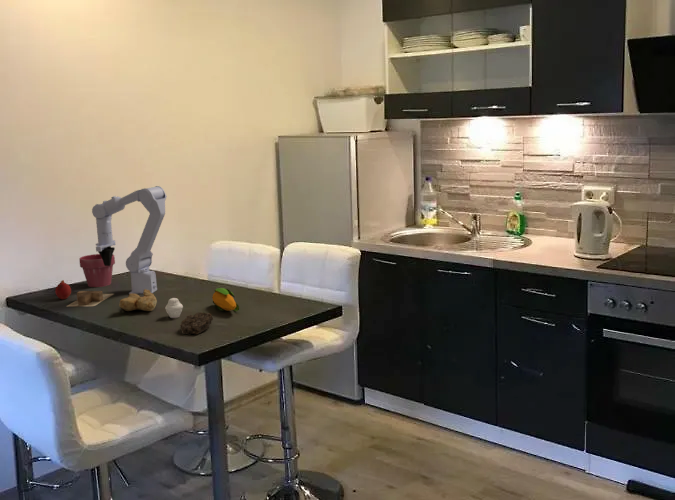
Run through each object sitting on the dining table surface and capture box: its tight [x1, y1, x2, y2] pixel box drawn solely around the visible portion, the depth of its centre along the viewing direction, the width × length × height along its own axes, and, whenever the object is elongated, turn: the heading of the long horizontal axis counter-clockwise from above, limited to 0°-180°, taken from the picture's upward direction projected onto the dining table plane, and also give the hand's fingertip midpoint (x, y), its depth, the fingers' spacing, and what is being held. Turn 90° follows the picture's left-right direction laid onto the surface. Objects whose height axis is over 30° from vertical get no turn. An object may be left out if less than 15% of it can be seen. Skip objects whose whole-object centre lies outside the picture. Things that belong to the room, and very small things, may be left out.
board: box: [67, 293, 114, 307], centre depth 285 cm, size 11×19×1 cm, turn 174°
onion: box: [54, 280, 72, 300], centre depth 288 cm, size 6×6×8 cm
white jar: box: [164, 297, 184, 319], centre depth 258 cm, size 6×6×7 cm
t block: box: [76, 290, 104, 305], centre depth 281 cm, size 9×8×4 cm
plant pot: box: [79, 253, 116, 288], centre depth 310 cm, size 14×14×13 cm
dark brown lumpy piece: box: [179, 311, 214, 335], centre depth 242 cm, size 12×10×5 cm
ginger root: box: [118, 289, 158, 312], centre depth 269 cm, size 16×16×8 cm
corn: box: [211, 287, 240, 312], centre depth 265 cm, size 7×8×20 cm
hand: (107, 265), depth 301 cm, fingers closed
